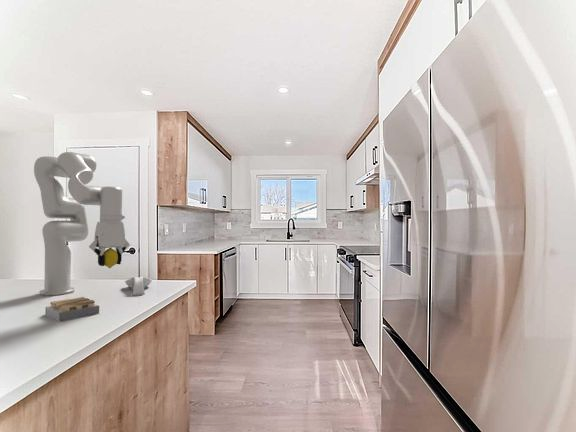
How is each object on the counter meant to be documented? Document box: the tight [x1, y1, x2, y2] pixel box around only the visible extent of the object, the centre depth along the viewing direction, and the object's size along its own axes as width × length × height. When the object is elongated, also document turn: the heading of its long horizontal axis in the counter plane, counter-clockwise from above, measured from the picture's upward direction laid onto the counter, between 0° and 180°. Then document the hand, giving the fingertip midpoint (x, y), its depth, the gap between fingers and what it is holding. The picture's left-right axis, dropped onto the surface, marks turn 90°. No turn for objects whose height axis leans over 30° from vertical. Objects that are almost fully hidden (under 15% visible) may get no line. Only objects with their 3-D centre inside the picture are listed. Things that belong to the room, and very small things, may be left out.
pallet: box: [50, 296, 96, 312], centre depth 116 cm, size 10×10×2 cm
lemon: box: [103, 247, 118, 269], centre depth 131 cm, size 6×6×8 cm
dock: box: [44, 303, 100, 322], centre depth 115 cm, size 12×12×3 cm
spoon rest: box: [124, 276, 153, 296], centre depth 155 cm, size 24×12×7 cm, turn 25°
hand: (109, 264), depth 131 cm, fingers closed on lemon, 5 cm apart
